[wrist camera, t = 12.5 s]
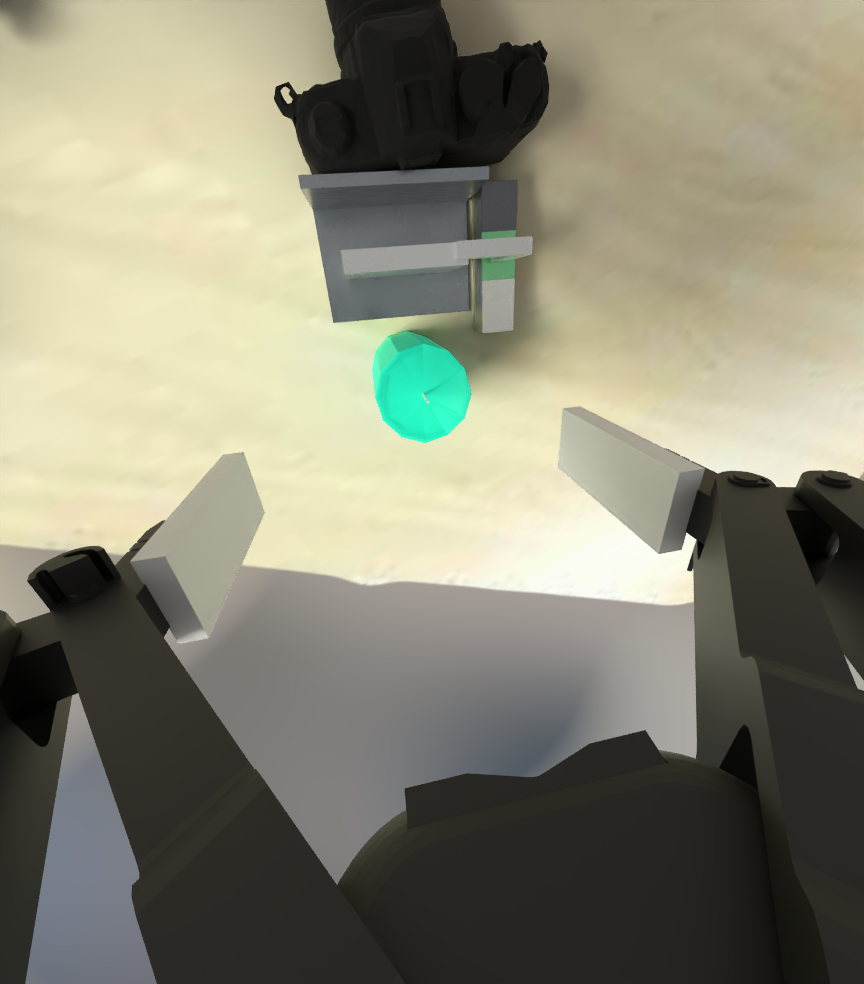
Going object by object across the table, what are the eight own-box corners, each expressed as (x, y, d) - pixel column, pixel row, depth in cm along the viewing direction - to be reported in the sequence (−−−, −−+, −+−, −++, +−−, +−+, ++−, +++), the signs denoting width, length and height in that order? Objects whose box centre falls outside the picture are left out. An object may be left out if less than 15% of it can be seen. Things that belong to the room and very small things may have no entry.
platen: (348, 279, 28) (343, 273, 22) (345, 261, 28) (340, 249, 21) (498, 268, 29) (535, 259, 23) (498, 249, 29) (536, 235, 22)
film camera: (505, -32, 23) (580, -209, 15) (516, 171, 27) (578, 119, 19) (257, 11, 22) (195, -152, 14) (312, 212, 26) (290, 175, 19)
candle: (441, 401, 34) (475, 447, 23) (375, 404, 33) (379, 453, 23) (441, 330, 31) (480, 346, 21) (369, 331, 30) (371, 348, 20)
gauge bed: (337, 343, 30) (331, 353, 25) (311, 200, 26) (298, 175, 21) (502, 328, 32) (530, 333, 27) (504, 190, 27) (537, 163, 22)
